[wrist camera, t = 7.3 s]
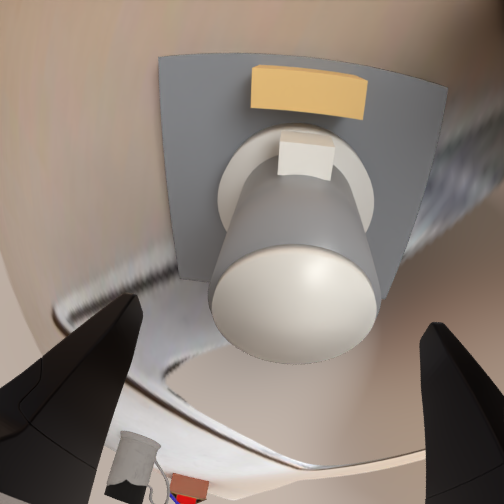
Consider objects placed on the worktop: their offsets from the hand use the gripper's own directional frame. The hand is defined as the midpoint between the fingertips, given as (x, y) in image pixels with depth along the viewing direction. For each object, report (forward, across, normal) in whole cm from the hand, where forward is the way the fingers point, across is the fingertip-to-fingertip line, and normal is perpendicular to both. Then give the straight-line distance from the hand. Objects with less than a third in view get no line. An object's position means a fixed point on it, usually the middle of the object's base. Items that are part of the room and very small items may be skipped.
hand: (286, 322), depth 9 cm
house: (+10, +20, +103) cm, 106 cm away
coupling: (+6, 0, 0) cm, 6 cm away
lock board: (+9, 0, 0) cm, 9 cm away
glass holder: (+9, +21, +57) cm, 62 cm away
